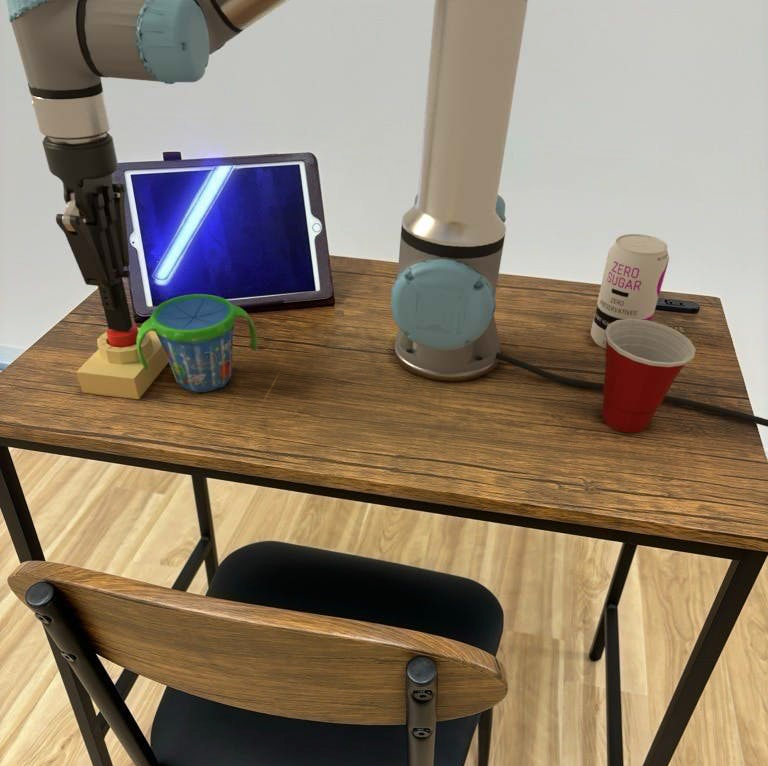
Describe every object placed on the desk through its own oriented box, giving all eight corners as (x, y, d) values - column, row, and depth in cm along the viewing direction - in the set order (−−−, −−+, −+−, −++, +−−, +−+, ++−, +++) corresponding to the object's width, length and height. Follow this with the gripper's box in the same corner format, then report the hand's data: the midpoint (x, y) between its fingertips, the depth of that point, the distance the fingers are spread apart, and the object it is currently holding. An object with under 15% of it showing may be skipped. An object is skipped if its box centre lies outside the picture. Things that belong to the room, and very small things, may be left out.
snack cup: (146, 408, 96) (131, 337, 89) (144, 367, 103) (129, 299, 96) (266, 393, 99) (260, 323, 92) (255, 355, 107) (248, 288, 100)
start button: (117, 333, 101) (114, 321, 100) (144, 336, 101) (142, 324, 99) (104, 347, 98) (101, 335, 97) (132, 350, 98) (129, 338, 96)
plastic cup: (673, 450, 91) (703, 365, 83) (584, 438, 93) (605, 353, 85) (666, 404, 99) (692, 322, 91) (584, 393, 101) (603, 312, 93)
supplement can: (642, 331, 115) (668, 235, 105) (646, 357, 109) (675, 257, 99) (589, 325, 116) (610, 230, 106) (590, 351, 110) (613, 252, 100)
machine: (125, 346, 108) (117, 314, 104) (177, 352, 107) (171, 320, 103) (82, 392, 98) (72, 359, 95) (138, 399, 97) (131, 366, 94)
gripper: (73, 117, 88) (116, 303, 103) (13, 147, 78) (70, 347, 94) (133, 122, 87) (166, 308, 102) (79, 153, 77) (125, 354, 93)
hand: (120, 327), depth 98 cm, fingers closed
